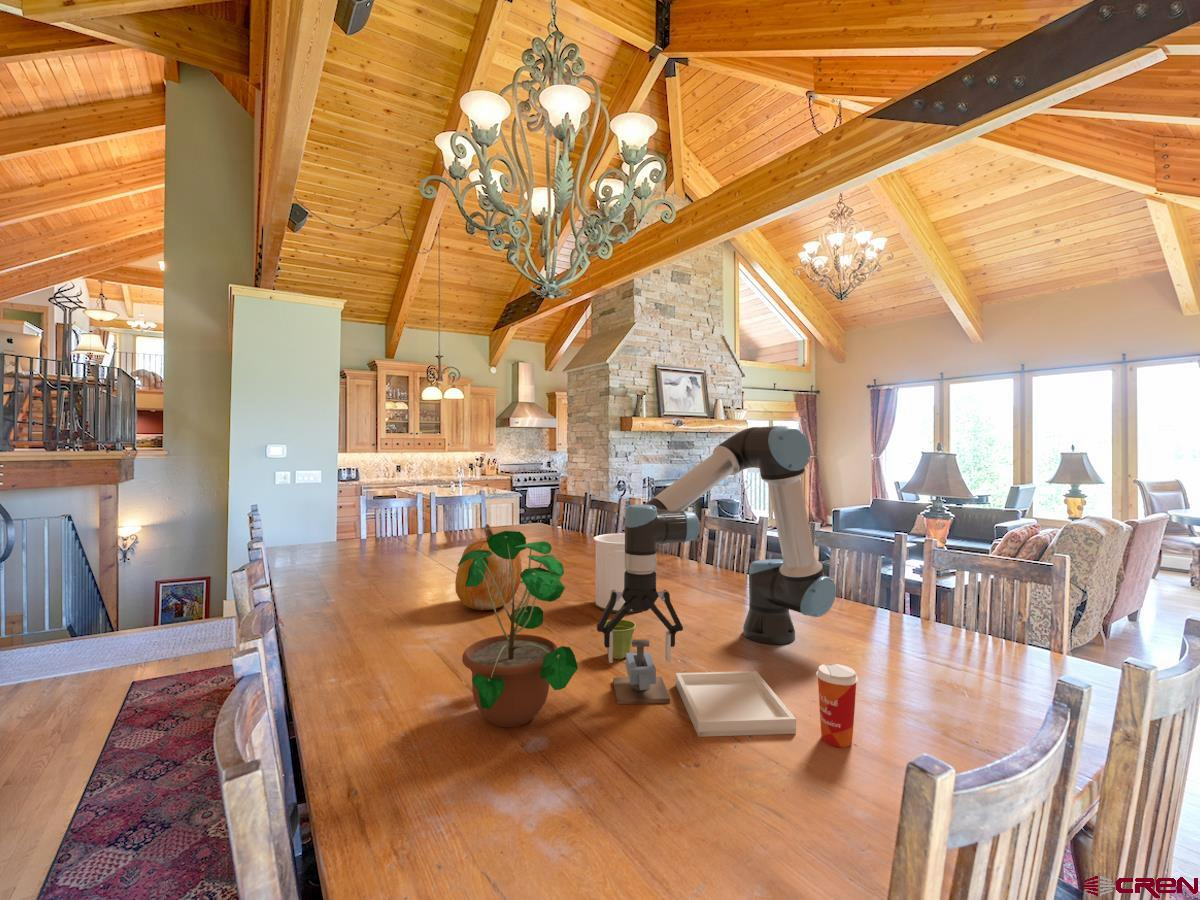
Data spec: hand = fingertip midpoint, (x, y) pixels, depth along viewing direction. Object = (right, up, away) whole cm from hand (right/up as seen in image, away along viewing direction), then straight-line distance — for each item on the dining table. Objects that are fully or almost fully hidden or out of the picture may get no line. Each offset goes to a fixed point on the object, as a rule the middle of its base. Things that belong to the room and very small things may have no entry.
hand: (639, 660), depth 134 cm
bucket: (-1, -7, +71) cm, 72 cm away
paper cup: (+38, -8, -22) cm, 44 cm away
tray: (+20, -8, -8) cm, 23 cm away
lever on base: (0, -8, 0) cm, 8 cm away
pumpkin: (-49, -7, +71) cm, 86 cm away
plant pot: (-4, -7, +23) cm, 25 cm away
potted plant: (-25, -8, -10) cm, 28 cm away
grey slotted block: (0, -4, -1) cm, 4 cm away
